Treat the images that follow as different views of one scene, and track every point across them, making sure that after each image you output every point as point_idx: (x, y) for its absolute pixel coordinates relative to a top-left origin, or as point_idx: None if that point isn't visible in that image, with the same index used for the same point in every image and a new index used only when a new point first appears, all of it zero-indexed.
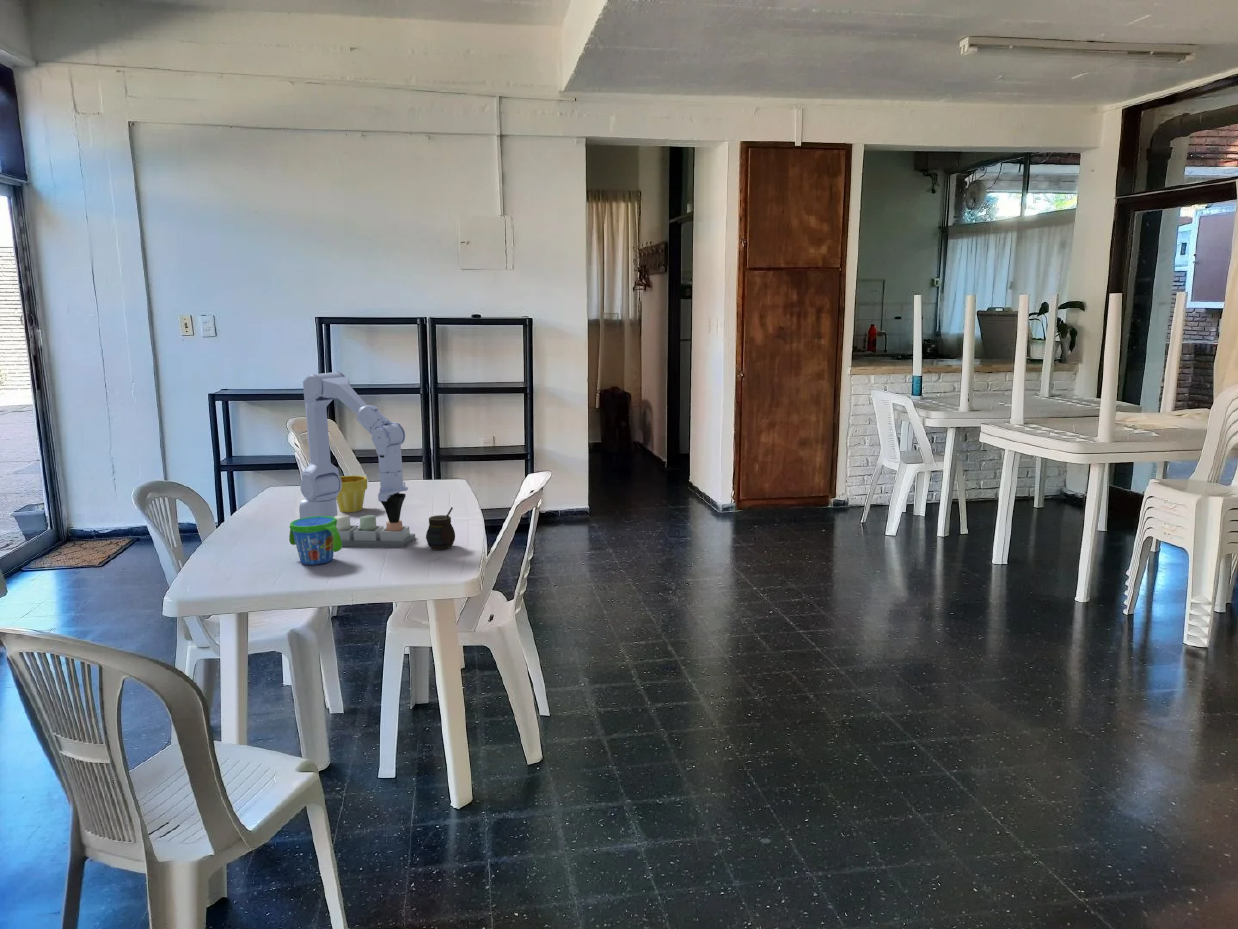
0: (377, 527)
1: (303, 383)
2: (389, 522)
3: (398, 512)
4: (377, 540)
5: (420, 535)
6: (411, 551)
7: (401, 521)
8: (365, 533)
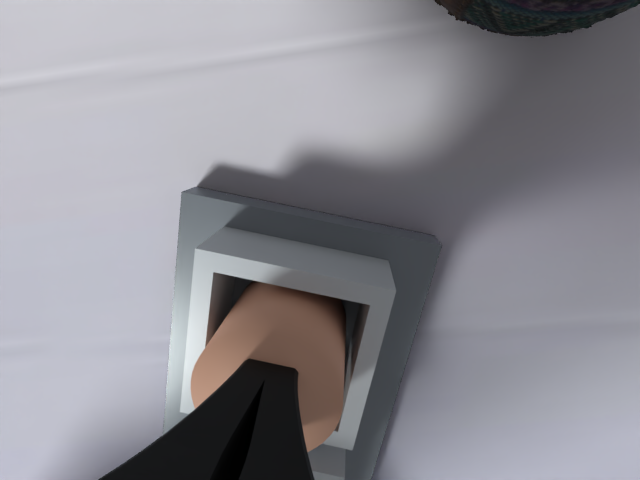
0: None
1: None
2: None
3: (284, 441)
4: None
5: (125, 159)
6: (551, 169)
7: (248, 334)
8: None
